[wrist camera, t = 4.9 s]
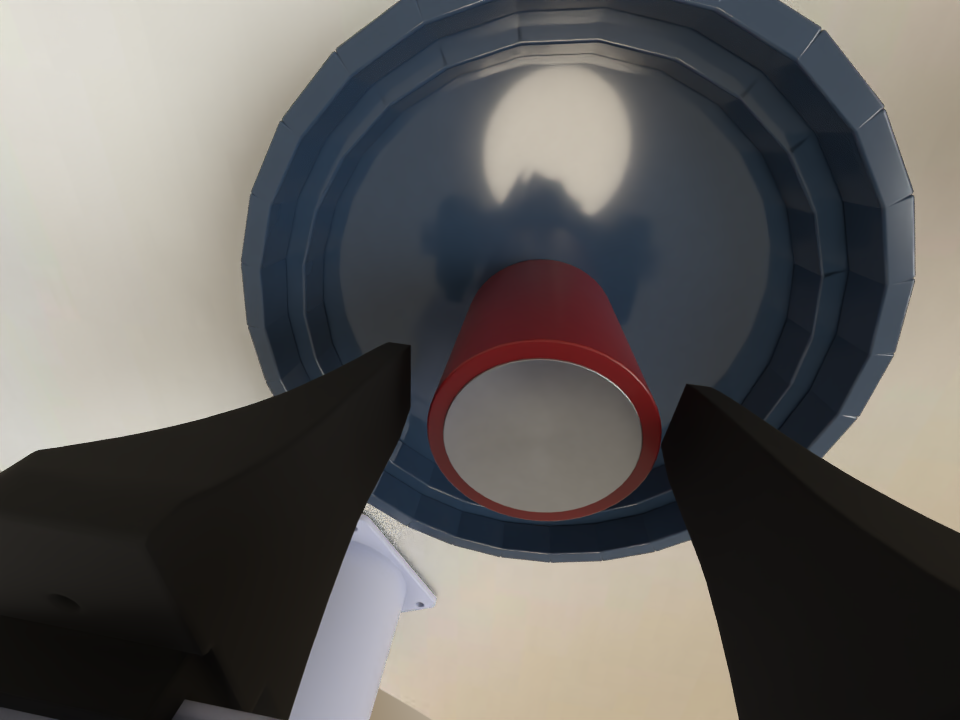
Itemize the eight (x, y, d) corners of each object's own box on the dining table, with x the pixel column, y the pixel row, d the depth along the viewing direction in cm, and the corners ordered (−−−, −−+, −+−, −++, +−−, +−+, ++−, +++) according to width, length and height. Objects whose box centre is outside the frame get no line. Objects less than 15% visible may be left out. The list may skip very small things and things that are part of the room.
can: (503, 408, 16) (485, 540, 11) (441, 295, 14) (382, 390, 9) (632, 366, 14) (689, 497, 9) (584, 231, 12) (620, 299, 7)
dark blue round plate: (442, 535, 21) (429, 592, 18) (192, 201, 14) (111, 216, 11) (853, 442, 15) (920, 506, 12) (786, -214, 8) (910, -389, 5)
